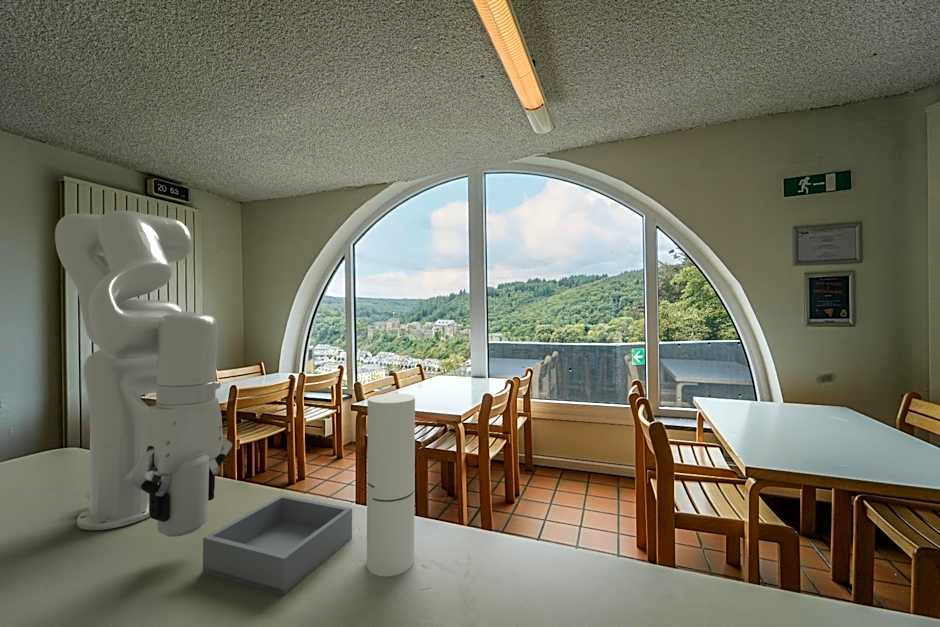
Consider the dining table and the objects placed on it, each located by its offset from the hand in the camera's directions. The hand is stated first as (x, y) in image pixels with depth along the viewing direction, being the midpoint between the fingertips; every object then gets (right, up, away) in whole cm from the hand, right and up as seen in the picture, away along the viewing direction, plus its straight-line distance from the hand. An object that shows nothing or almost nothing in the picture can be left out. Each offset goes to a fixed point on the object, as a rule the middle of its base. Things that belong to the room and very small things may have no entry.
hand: (183, 507), depth 63 cm
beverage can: (0, -3, 0) cm, 3 cm away
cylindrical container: (+32, -8, -1) cm, 33 cm away
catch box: (+15, -8, +1) cm, 17 cm away
